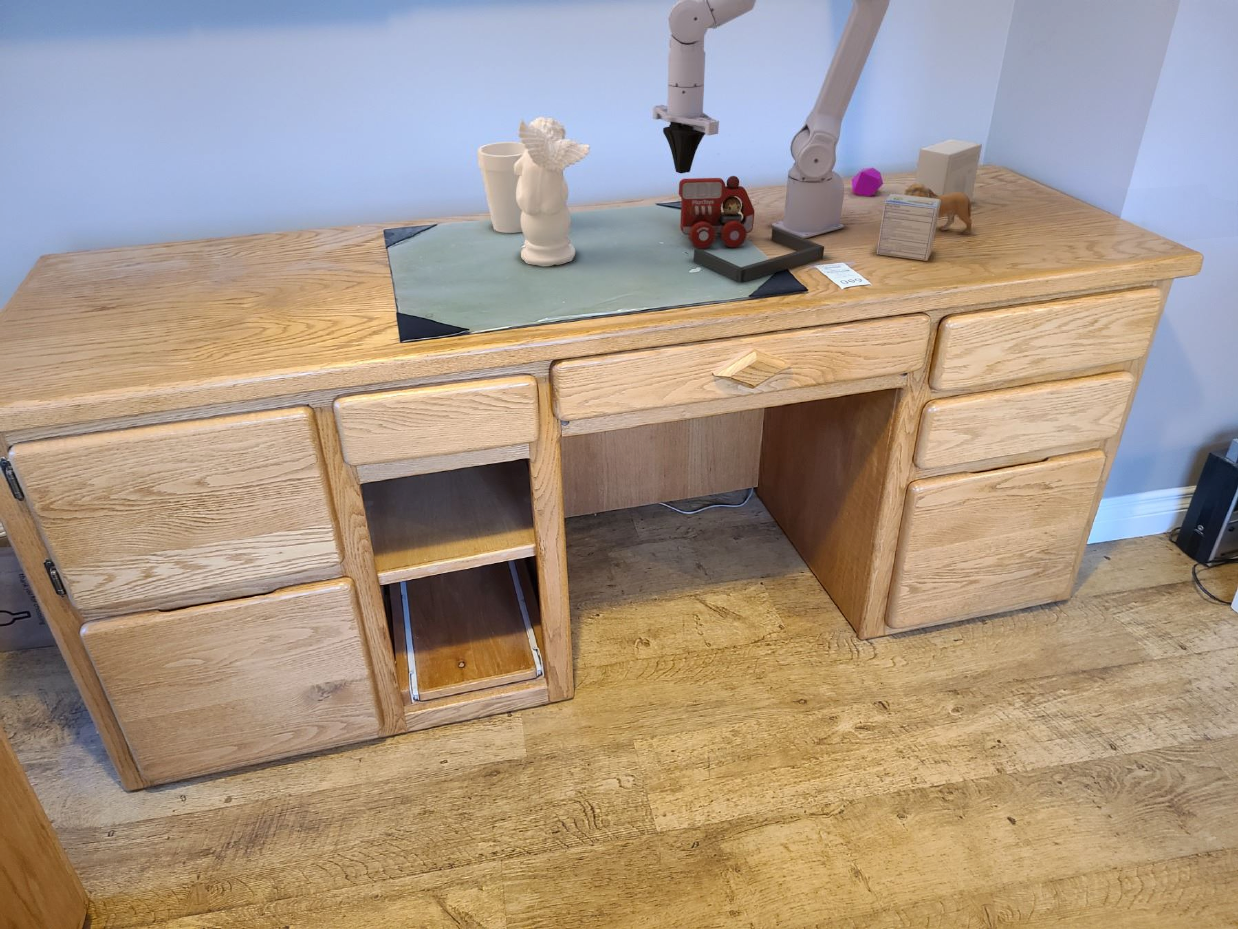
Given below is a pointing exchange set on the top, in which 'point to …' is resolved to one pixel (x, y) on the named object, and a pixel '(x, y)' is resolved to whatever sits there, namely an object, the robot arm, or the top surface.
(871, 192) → the crystal
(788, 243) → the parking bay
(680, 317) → the top surface
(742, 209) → the toy fire truck
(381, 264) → the top surface
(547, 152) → the cherub figurine
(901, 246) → the medicine box
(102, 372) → the top surface
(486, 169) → the white flower pot
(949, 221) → the lion figurine
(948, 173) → the cosmetics box
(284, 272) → the top surface
